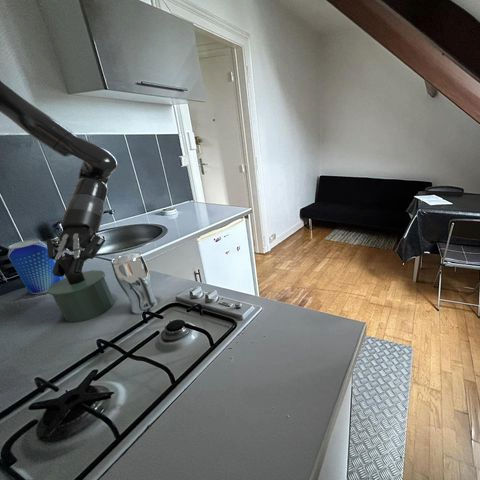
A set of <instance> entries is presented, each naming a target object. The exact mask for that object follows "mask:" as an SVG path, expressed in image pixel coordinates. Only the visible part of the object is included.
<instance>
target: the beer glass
mask: <svg viewBox="0 0 480 480" xmlns="http://www.w3.org/2000/svg"><path fill="white" fill-rule="evenodd" d="M110 265H111V269H112V272H113V274H114V278H115V280H116V281H117V282H116V283H118V285H119V287H120V288H121V290H122V291H123V292H124V294H125V295H126V296H127V298H128V300H129V302H130V308H131V312H132V313H133V314H135V315H141V314H144V313H143V312H146V313H148V312H150V311H153V310H154V309H155V308H156V307H158V304H159V302H158V299H157V298H156V297H155V295H154V293H153V290H152V282H151V275H150V271H149V267H148V266H147V263H146V260H145V258H144V256H143V254H142V253H141V252H128V253H123V254H121V255H118V256H116V257H114V258H112V259H111V260H110Z"/></svg>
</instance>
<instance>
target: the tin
mask: <svg viewBox="0 0 480 480" xmlns="http://www.w3.org/2000/svg"><path fill="white" fill-rule="evenodd" d="M52 297H53V299H54V301H55V302H56V305H57V306H58V308H59V310H60V312H61V313H62V316H63V317H64V319H65V320H66V321H67V322H69V323H80V322H85V321H88V320H90V319H94V318H96V317H98V316H100V315H102V314H104V313H105V312H107V311H108V310H110V309H111V308H112V307H113V306H114V305H115V300H114V297H113V295H112V292H111V290H110V287H109V285H108V283H107V281H106V278H105V277H104V278H103V279H102V280H101V281H100V282H98V283H97V284H95V285H93V286H91V287H89V288H86V289H84V290H81V291H78V292H74V293H70V294H66V295H52Z"/></svg>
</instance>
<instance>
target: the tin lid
mask: <svg viewBox="0 0 480 480" xmlns="http://www.w3.org/2000/svg"><path fill="white" fill-rule="evenodd" d="M74 259H75V258H74V254H73V255H66V256H65V255H63V256H62V257H60V258H58V259H57V260H58V262H59V264H60V266H61V268H62V270H63V272H64V279H62V280H60V281H58V282H56V283H54V284H53V285H52V286H50V287H49V289H48V292H47V294H48V293H49V294H48V295H51V296H53V295H66V294H70V293H74V292H78V291H81V290H84V289H86V288H89V287H91V286H93V285H95V284H97V283H98V282H100V281H101V280H102V279H103V278H105V277H106V273H105V272H104V271H103V270H96V269H95V270H88V271H87V270H86V271H83V270H82V271H81V273H80V274H79V275H78V276H74V275H70V274H69V270H70V267H71V263H72V260H74Z"/></svg>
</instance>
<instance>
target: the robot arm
mask: <svg viewBox="0 0 480 480" xmlns="http://www.w3.org/2000/svg"><path fill="white" fill-rule="evenodd" d="M0 113H2V115H4V116H5V117H7V119H9V120H10V121H12V122H13V123H15V124H16V125H17V126H18V127H19V128H20V129H22V131H24V132H25V133H26V134H27V135H29V136H30V137H32V138H33V139H35V140H36V141H38V142H39V143H41V144H42V145H44V146H46V147H47V148H49V149H51V150H52V151H53V152H55V153H57V154H58V155H59V156H62V157H64V158H68V157H72V156H74V157H75V158H78V159H79V160H82V163H81V165H80V168H79V172H78V177H77V182H76V183H75V186H74V189H73V191H72V192H73V193H72V195H71V197H70V199H69V201H68V203H67V207H66V209H65V212H64V215H63V218H62V221H61V223H60V226H61V229H62V231H61V233H60V234H59V235H58V237H56V238H54V239H53V238H47V239H46V245H47V250H48V258H50V259H53V260H55V261H56V263H55V266H54V269H53V275H54V276H58V277H65V274H64V272H63V270H62V268H61V266H60V264H59V262H58V260H57V259H58V258H60V257H63V256H66V255H74V258H75V259H74V260H72V263H71V267H70V270H69V274H70V275H74V276H78V275H79V274H80V273H81V271H82V272H83V268H84V265H85V262H86V261H88V260H93V259H94V258H95V257H96V256H97V254H98V253H99V251H100V249H101V248H102V247H103V245H104V244H105V242H106V239H105V238H104V237H102V236H101V235H98V233H99V231H100V227H101V223H102V221H103V220H102V219H103V215H104V212H105V211H104V210H105V204H106V200H107V196H108V191H109V188H108V182H109V180H110V178H111V176H112V174H113V173H114V172H115V171H116V169H117V167H118V161H117V159H116V157H115V156H114V155H113V154H112V153H111V152H109V151H108V150H107V149H105V148H103V147H102V146H99V145H98V144H96V143H93V142H91V141H90V140H87V139H84V138H83V137H80V136H79V135H77V134H76V133H74V132H73V131H72V130H70V129H69V128H68V127H66V126H64V125H63V124H62V123H60V122H59V121H57V120H56V119H54V118H52V117H51V116H50V115H48V114H46V113H45V112H44V111H42V110H41V109H39V108H38V107H36V106H35V105H34V104H32V103H30V102H29V101H27V100H26V99H25V98H24V97H22V96H21V95H20V94H18V93H17V92H15V91H14V90H13V89H11V88H10V87H9V86H8V85H7V84H6V83H4V82H3V81H2V80H1V79H0Z"/></svg>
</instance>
